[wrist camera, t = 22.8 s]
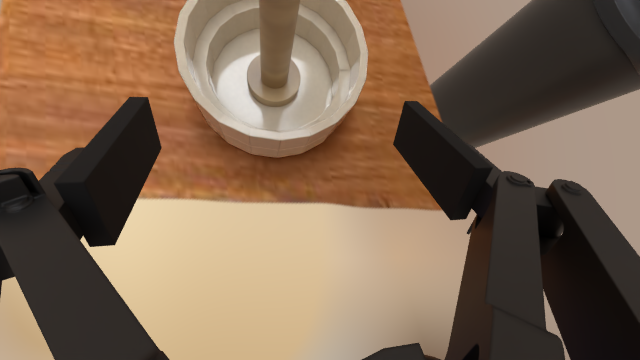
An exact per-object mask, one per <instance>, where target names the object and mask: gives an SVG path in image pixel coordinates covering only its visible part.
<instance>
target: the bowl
mask: <svg viewBox="0 0 640 360" xmlns="http://www.w3.org/2000/svg"><path fill="white" fill-rule="evenodd" d="M174 47H175V53H176V59H177V65H178V71H179V73H180V75H181V77H182V78H183V80H184V82H185V84H186V86H187V87H188V89H189V91H190V93H191V95H192V96H193V98H194V100H195V102H196V103H197V105H198V107H199V109H200V111H201V112H202V114H203V116H204V118H205V120H206V121H207V123H208V125H209V126H210V127H211V128H212V129H213V130H214V131H216V132H217V133H218V134H219V135H220V136H221V137H222V138H223V139H224V140H225V141H226V142H228V143H229V144H231V145H233V146H235V147H238V148H240V149H242V150H244V151H246V152H248V153H250V154H254V155H261V156H268V157H275V158H277V157H284V156H290V155H296V154H301V153H304V152H306V151H308V150H309V149H311V148H313V147H315V146H317V145H319V144H321V143H322V142H324V141H325V140H326V138H327V137H328V136H329V135H330V134H331V133H332V132H333V131H334V130H335V129H336V128H337V127H338V126H339V124H340V123H341V122H342V120H343V119H344V118H345V116H346V115H347V114H348V112H349V111H350V110H351V109H352V107H353V106H354V105H355V103H356V101H357V99H358V97H359V94H360V92H361V90H362V88H363V85H364V83H365V81H366V74H367V62H368V50H367V46H366V42H365V38H364V34H363V30H362V27H361V25H360V23H359V21H358V20H357V18H356V16H355V15H354V13H353V11H352V10H351V8H350V6H349V4H348V3H347V2H346V1H345V0H300V5H299V11H298V18H297V24H296V30H295V36H294V42H293V48H292V54H291V59H292V60H293V61H294V63H295V64H296V65H297V67H298V69H299V72H300V77H301V80H300V86H299V90H298V93H297V95H296V97H295V98H294V99H293V100H292V101H291V102H290V103H288V104H287V105H284V106H281V107H269V106H266V105H263V104H261V103H260V102H258V101H257V100H256V99H255V98H254V97H253V96H252V94H251V93H250V90H249V88H248V82H247V70H248V67H249V64H250V63H251V61H252V60H253V59H254V58H255V57H257V56H258V55H260V20H259V0H187V2H186V4H185V5H184V7H183V8H182V10H181V11H180V14H179V18H178V23H177V28H176V33H175V38H174Z"/></svg>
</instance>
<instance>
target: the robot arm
mask: <svg viewBox="0 0 640 360" xmlns="http://www.w3.org/2000/svg"><path fill="white" fill-rule="evenodd" d="M393 145H394V146H395V147H396V149H397V150H398V151H399V153H400V154H401V155H402V157H403V158H404V159H405V161H406V162H407V163H408V164H409V166H410V167H411V168H412V170H413V171H414V172H415V174H416V175H417V176H418V178H419V179H420V180H421V182H422V183H423V184H424V186H425V187H426V188H427V190H428V191H429V192H430V194H431V195H432V196H433V198H434V199H435V200H436V202H437V203H438V204H439V206H440V207H441V208H442V210H443V211H444V212H445V213H446V215H447V216H448V218H449V219H450V220H460V219H466V218H467V216H468V214H469V212H470V210H471V209H473V210H474V211H475V212H476V214H477V215H476V217H475V219H474V221H473V223H472V224H471V226H470V228H469V230H468V232H467V234H470V232H471V236H470V240H469V245H468V251H467V256H466V261H465V266H464V271H463V276H462V281H461V286H460V292H459V296H458V302H457V306H456V312H455V317H454V322H453V327H452V332H451V337H450V342H449V347H448V351H447V354H446V357H445V360H565V356H564V348H563V345H562V341H561V339H560V338H559V337H558V336H557V335H555V334H552V333H550V332H548V331H547V330H546V322H545V310H544V296H543V289H544V292H545V295H546V297H547V300H548V303H549V305H550V308H551V310H552V313H553V315H554V318H555V321H556V323H557V326H558V328H559V331H560V334H561V336H562V339H563V341H564V344H565V346H566V349H567V352H568V354H569V357H570V359H571V360H640V257H639V255H638V254H637V253H636V251H635V250H634V249H633V248H632V246H631V245H630V244H629V242H628V241H627V240H626V239H625V237H624V236H623V235H622V234H621V232H620V231H619V230H618V228H617V227H616V226H615V224H614V223H613V222H612V221H611V219H610V218H609V217H608V215H607V214H606V213H605V212H604V210H603V209H602V208H601V206H600V205H599V204H598V203H597V202H596V200H595V199H594V198H593V196H592V195H591V194H590V193H589V192H588V191H587V190H586V189H585V188H583V187H582V186H581V185H579V184H577V183H575V182H573V181H567V180H561V179H557V180H554V181H553V182H552V183H551V185H550V186H549V188H548V189H547V188H540V187H535V186H534V183H533V182H532V181H530V179H528V178H526V177H525V176H523V175H520V174H518V173H514V172H510V171H504V172H502V171H501V170H499V169H498V168H497V167H496V166H495V165H494V164H492V163H491V162H490V161H489V160H488V159H487V158H485V157H484V156H483V155H482V154H480V153H479V152H478V151H477V150H476V149H475V148H474V147H473V146H471V145H469V144H467V143H465V142H463V141H462V140H461V139H460V138H459V137H458V136H457V135H455V134H454V133H453V132H452V131H451V130H450V129H449V128H447V127H446V126H445V125H444V124H443V123H442V122H440V121H439V120H438V119H437V118H436V117H435V116H434V115H432V114H431V113H430V112H429V111H428V110H427V109H426V108H424V107H423V106H422V105H421V104H420V103H419V102H417V101H405V102H404V106H403V110H402V114H401V117H400V121H399V125H398V128H397V132H396V136H395V140H394V143H393ZM160 150H161V144H160V140H159V137H158V133H157V129H156V126H155V122H154V118H153V115H152V111H151V107H150V104H149V100H148V97H129V98H128V100H127V101H126V102H125V103H124V104H123V105H122V106H121V107H120V109H119V110H118V111H117V112H116V113H115V114H114V115H113V116H112V118H111V119H110V120H109V121H108V122H107V123H106V124H105V125H104V127H103V128H102V129H101V130H100V131H99V132H98V133H97V135H96V136H95V137H94V138H93V139H92V140H91V141H90V142H89V144H88V145H87V146H86V147H85V148H75V149H74V150H72V151H70V152H68V153H66V154H65V155H63V156H62V157H61V158H60V159H59V160H58V162H57V163H56V165H54V166H53V167H52V168H51V169H50V172H47V173H46V174H45V175H44V176H43V177H42V178H41V179H40V180H39V181H38V180H37V178H36V176H35V175H34V173H33V172H32V171H31V170H29V169H26V168H8V169H4V170H0V295H1V285H2V280H5V279H8V278H12V277H16V279H17V281H18V283H19V286H20V288H21V290H22V292H23V294H24V296H25V298H26V300H27V302H28V305H29V307H30V309H31V311H32V313H33V315H34V317H35V319H36V321H37V323H38V326H39V328H40V330H41V332H42V334H43V336H44V338H45V340H46V342H47V344H48V347H49V349H50V351H51V353H52V355H53V357H54V359H55V360H169V359H168V357H167V356H166V355H165V354H164V352H163V351H160V350H159V349H158V347H157V346H156V344H155V343H154V342H153V340H152V339H151V338H150V336H149V335H148V334H147V332H146V331H145V329H144V328H143V327H142V325H141V324H140V323H139V321H138V320H137V318H136V317H135V316H134V314H133V313H132V311H131V310H130V309H129V307H128V306H127V305H126V303H125V302H124V300H123V299H122V298H121V296H120V295H119V294H118V292H117V291H116V290H115V288H114V287H113V285H112V284H111V282H110V281H109V280H108V278H107V277H106V276H105V274H104V273H103V271H102V270H101V269H100V267H99V266H98V265H97V263H96V262H95V261H94V259H93V258H92V256H91V255H90V254H89V252H88V251H87V250H86V248H85V247H84V245H83V244H82V243H81V241H80V240H81V238H82V236H84V237H85V239H86V241H87V242H88V244H89V246H90V247H95V246H108V245H115V244H116V242H117V239H118V237H119V235H120V233H121V231H122V229H123V227H124V225H125V223H126V221H127V218H128V217H129V215H130V213H131V210H132V208H133V206H134V204H135V202H136V200H137V198H138V196H139V194H140V192H141V190H142V188H143V186H144V183H145V181H146V179H147V177H148V175H149V173H150V171H151V169H152V167H153V165H154V163H155V161H156V159H157V157H158V154H159V152H160ZM561 234H562V235H561ZM362 360H440V359H438V358H435V357H432V356H428V355H424V354H423V351H422V349H421V347H420V344H419V343H415V344H408V345H402V346H396V347H390V348H384V349H382V350H380V351H378V352H376V353H374V354H372V355H370V356H368V357H366V358H364V359H362Z"/></svg>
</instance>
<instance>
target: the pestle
mask: <svg viewBox="0 0 640 360" xmlns="http://www.w3.org/2000/svg"><path fill="white" fill-rule="evenodd" d="M299 5H300V0H259V20H260V55H258V56H257V57H255V58H254V59H253V60H252V61H251V63H250V64H249V67H248V70H247V82H248V88H249V90H250V93H251V94H252V96H253V97H254V98H255V99H256V100H257V101H258V102H260V103H261V104H263V105H266V106H269V107H281V106H284V105H287V104H288V103H290V102H291V101H292V100H293V99H294V98H295V97H296V95H297V93H298V90H299V86H300V80H301V77H300V72H299V69H298V67H297V65H296V64H295V63H294V61H293V60H292V59H291V54H292V48H293V42H294V36H295V30H296V24H297V18H298V11H299Z"/></svg>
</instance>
